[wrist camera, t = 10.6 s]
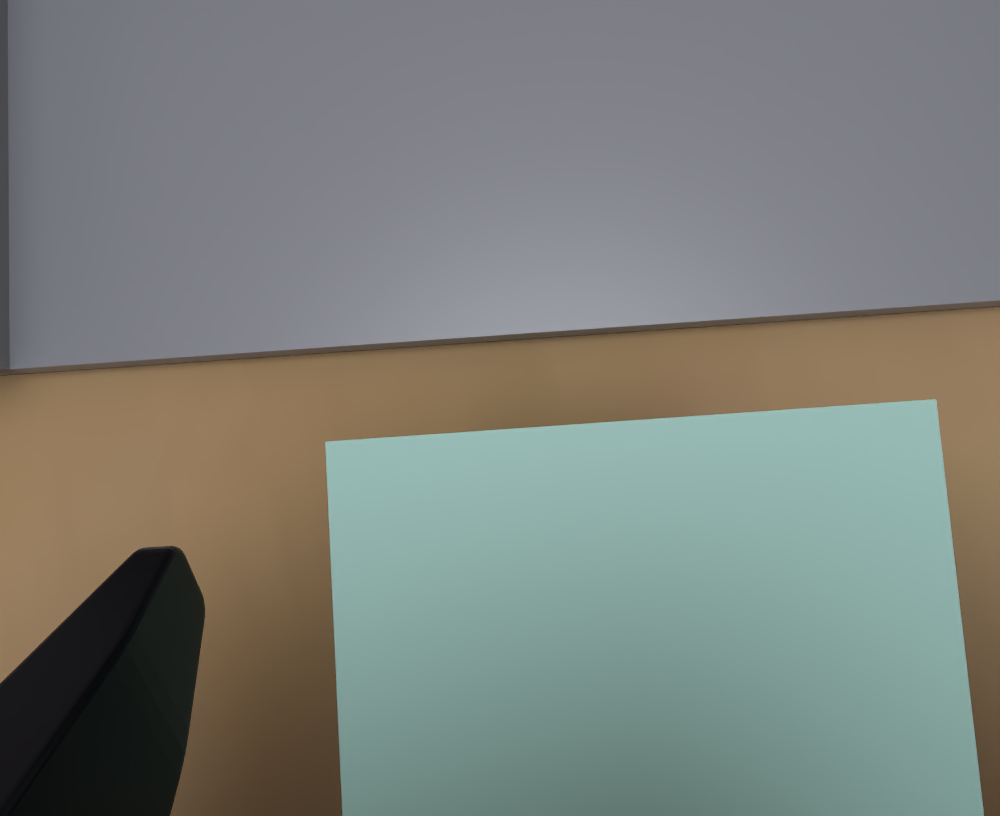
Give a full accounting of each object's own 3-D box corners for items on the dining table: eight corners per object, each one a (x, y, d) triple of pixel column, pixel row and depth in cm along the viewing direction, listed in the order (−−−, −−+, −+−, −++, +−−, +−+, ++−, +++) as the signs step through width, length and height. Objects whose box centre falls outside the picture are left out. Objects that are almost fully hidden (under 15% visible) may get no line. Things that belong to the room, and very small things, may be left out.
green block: (739, 729, 17) (1011, 1059, 7) (468, 743, 17) (354, 1082, 7) (715, 457, 17) (936, 399, 7) (452, 474, 18) (326, 441, 8)
